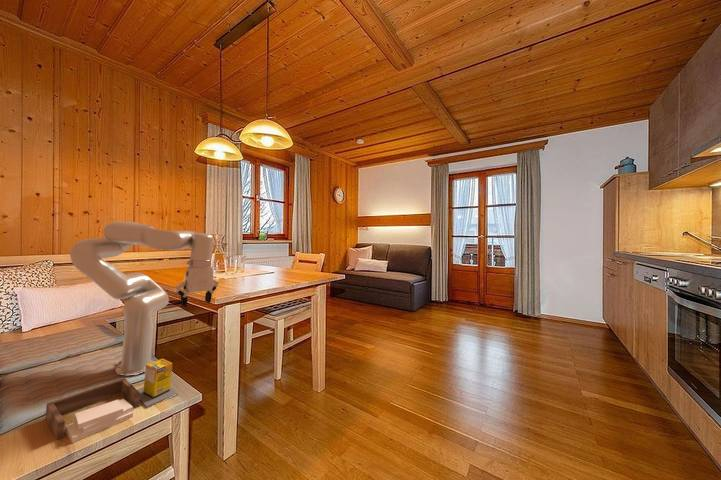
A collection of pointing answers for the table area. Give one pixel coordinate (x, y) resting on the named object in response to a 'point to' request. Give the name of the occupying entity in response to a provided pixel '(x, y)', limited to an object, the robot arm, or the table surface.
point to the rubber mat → (150, 401)
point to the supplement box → (157, 378)
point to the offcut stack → (98, 419)
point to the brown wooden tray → (88, 402)
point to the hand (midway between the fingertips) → (196, 304)
